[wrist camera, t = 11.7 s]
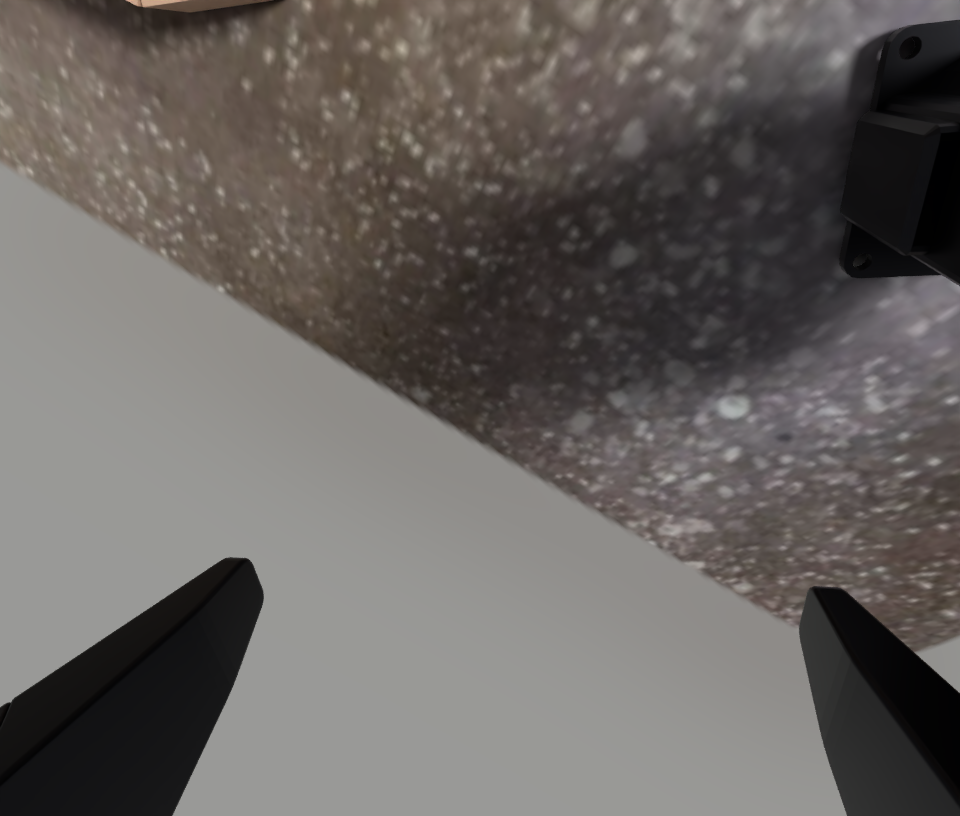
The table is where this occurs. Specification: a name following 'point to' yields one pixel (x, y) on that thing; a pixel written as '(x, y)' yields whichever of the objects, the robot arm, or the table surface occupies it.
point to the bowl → (191, 4)
